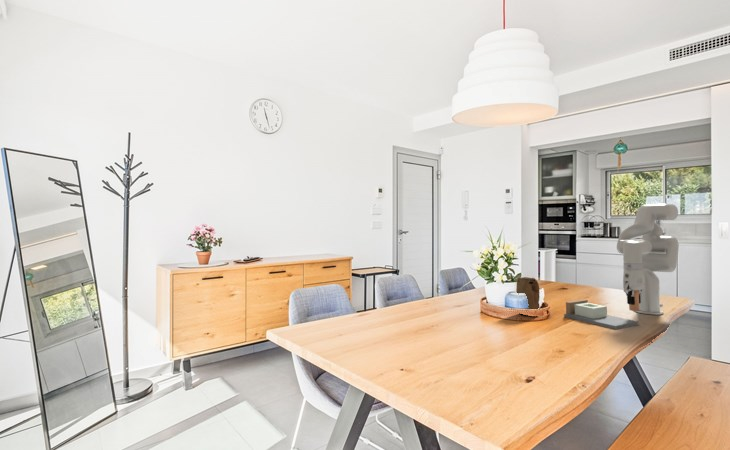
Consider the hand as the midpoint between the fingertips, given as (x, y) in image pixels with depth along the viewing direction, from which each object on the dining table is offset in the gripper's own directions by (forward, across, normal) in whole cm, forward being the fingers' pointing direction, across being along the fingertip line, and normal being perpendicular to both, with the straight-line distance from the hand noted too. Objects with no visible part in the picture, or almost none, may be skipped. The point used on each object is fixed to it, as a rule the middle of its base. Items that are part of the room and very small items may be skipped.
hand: (634, 303), depth 185 cm
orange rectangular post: (+3, 0, 0) cm, 3 cm away
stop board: (+8, -15, +8) cm, 19 cm away
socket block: (+6, -15, +12) cm, 20 cm away
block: (+8, -36, +32) cm, 49 cm away
